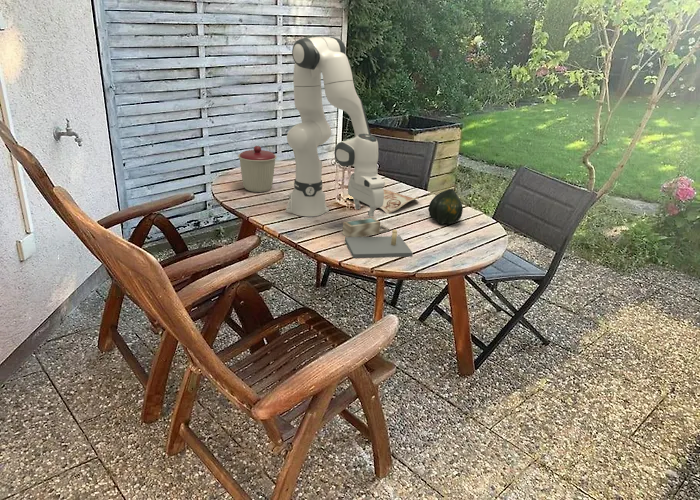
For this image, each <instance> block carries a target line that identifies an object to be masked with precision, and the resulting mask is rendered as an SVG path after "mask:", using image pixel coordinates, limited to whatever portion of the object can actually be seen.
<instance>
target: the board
mask: <svg viewBox="0 0 700 500" xmlns="http://www.w3.org/2000/svg"><path fill="white" fill-rule="evenodd" d="M344 242H345V245H346V246H347V248H348V250H349V253H350V254H351V257H352V258H353V259H365V258H366V259H367V258H368V259H371V258H373V259H375V258H403V257H404V258H407V257H413V253H414V252H413V251H412V249H410V247H409V246H408V245H407V243H406V242H405V241H404V239H403V238H402V236H401V235H398V230H397V229H392V233H391V236H363V237H346V236H345V237H344Z"/></svg>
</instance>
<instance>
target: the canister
mask: <svg viewBox="0 0 700 500" xmlns="http://www.w3.org/2000/svg"><path fill="white" fill-rule="evenodd" d="M237 157H238V159H239V165H240V173H241V179H242V185H243V187H244V189H245V190H246V191H249V192H252V193H253V192H254V193H263V192H267V191H270V190H271V189H272V186H273V181H274V174H275V166H276V159H277V158H278V157H277V155H276V154H275V153H274V152H271V151H268V150H264V149H262V147H261V146H259V145H256V146H254V147H253V149H249V150H245V151H244V150H243V151H241V152H240V153H238V155H237Z"/></svg>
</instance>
